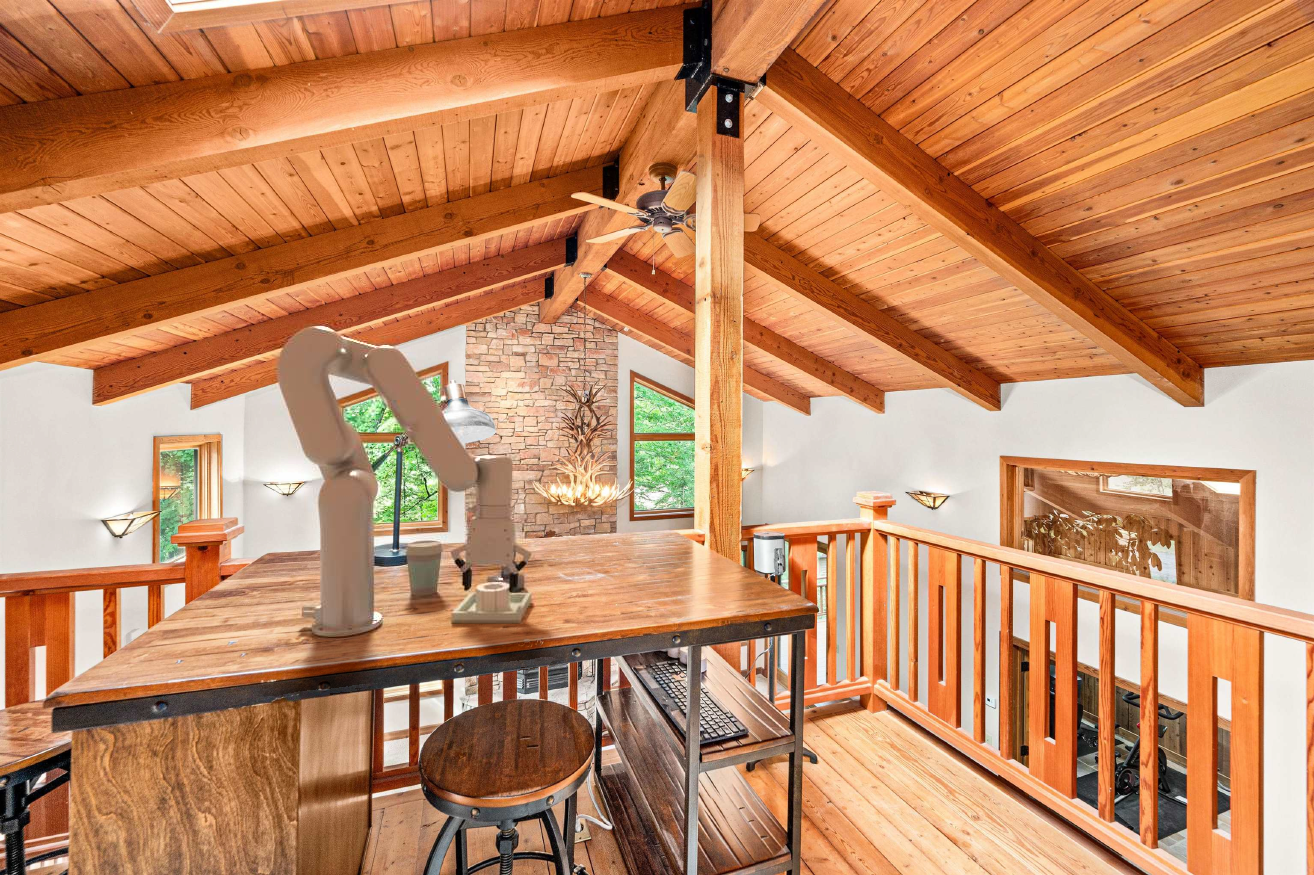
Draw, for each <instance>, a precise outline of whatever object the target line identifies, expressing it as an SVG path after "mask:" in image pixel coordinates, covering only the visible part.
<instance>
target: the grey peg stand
mask: <svg viewBox="0 0 1314 875" xmlns="http://www.w3.org/2000/svg"><path fill="white" fill-rule="evenodd" d="M510 574H511V570H510V569H509V567H508V566H500V572H499V573H498V572H497V573H493V574H490V575H488V576H487V577H486V583H489V582H490V583H491V582H502V583H507V584H509V582H510ZM522 590H523V591H524V590H525V575H524V574H523V573H520V572H518V586H517V587H515V589H514V591H513V592H510V593H522Z"/></svg>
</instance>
